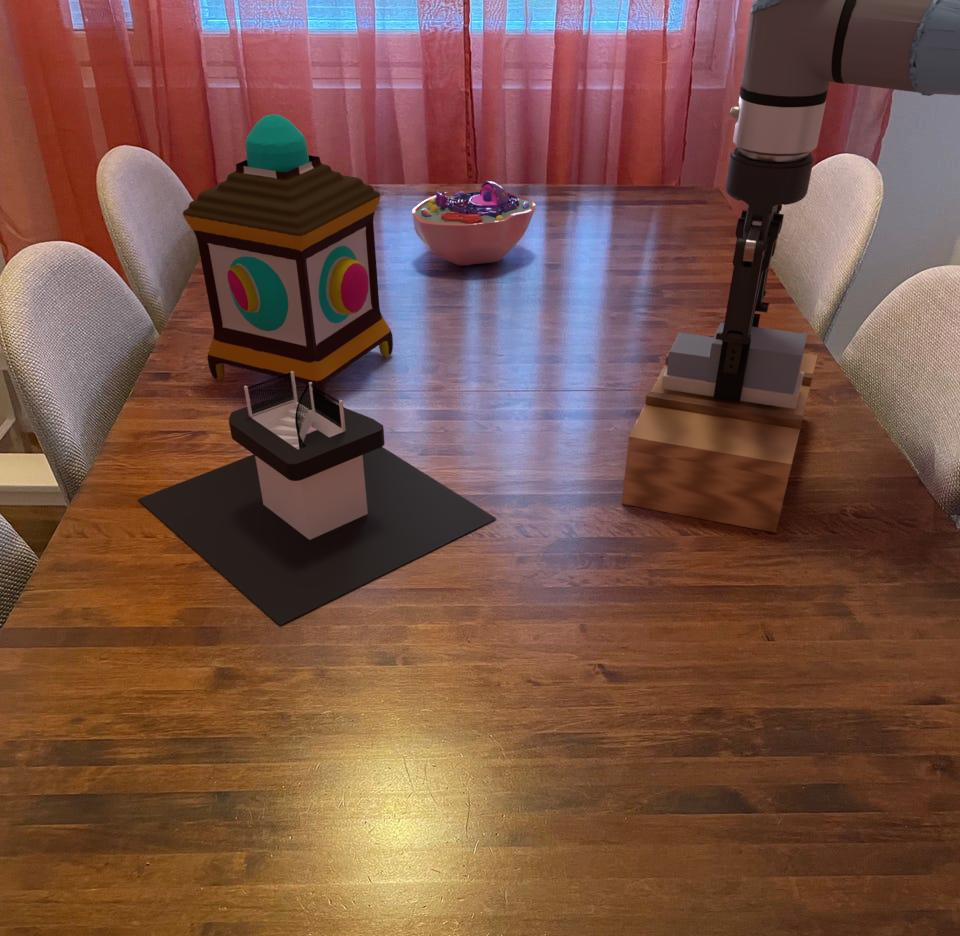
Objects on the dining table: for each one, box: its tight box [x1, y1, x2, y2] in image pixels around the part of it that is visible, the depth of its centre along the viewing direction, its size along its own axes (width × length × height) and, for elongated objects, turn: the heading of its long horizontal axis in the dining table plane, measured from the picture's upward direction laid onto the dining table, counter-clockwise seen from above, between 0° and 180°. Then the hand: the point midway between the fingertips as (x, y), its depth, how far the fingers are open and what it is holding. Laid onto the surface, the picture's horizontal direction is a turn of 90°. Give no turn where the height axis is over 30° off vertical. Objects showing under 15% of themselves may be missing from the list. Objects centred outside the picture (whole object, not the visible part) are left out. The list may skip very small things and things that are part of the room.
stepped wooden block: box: [621, 352, 818, 534], centre depth 108 cm, size 16×26×9 cm, turn 160°
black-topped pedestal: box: [137, 371, 498, 626], centre depth 98 cm, size 28×26×13 cm
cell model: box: [411, 180, 537, 266], centre depth 155 cm, size 17×20×11 cm
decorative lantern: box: [182, 114, 394, 399], centre depth 119 cm, size 20×20×30 cm
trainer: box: [661, 322, 809, 409], centre depth 103 cm, size 14×6×6 cm, turn 70°
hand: (731, 384), depth 105 cm, fingers closed on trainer, 6 cm apart
